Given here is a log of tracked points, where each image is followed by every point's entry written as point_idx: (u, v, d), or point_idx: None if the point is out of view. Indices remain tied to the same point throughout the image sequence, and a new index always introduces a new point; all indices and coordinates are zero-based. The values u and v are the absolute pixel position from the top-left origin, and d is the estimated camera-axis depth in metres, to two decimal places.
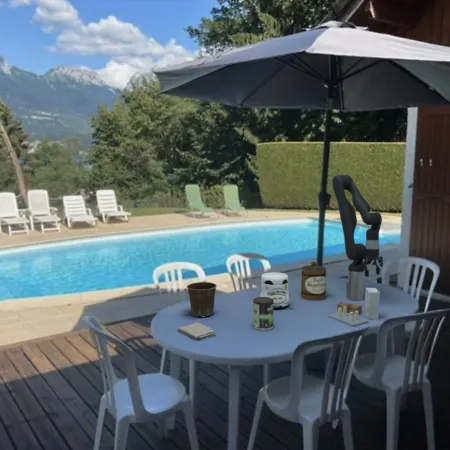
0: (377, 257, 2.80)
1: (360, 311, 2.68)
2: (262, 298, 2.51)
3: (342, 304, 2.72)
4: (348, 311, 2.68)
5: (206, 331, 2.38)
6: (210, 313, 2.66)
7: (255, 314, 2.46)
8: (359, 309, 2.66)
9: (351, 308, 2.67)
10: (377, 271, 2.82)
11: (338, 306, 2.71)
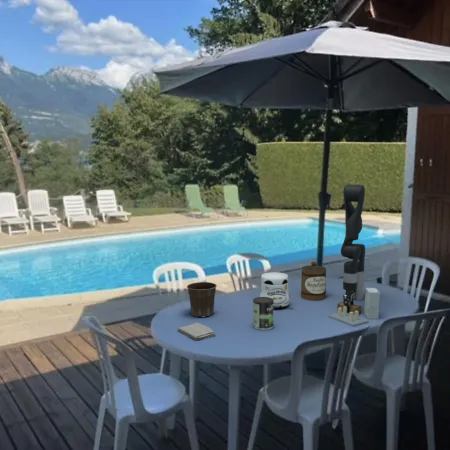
0: None
1: (360, 311, 2.67)
2: (262, 298, 2.51)
3: (342, 303, 2.72)
4: None
5: (206, 331, 2.38)
6: (210, 313, 2.66)
7: (255, 314, 2.46)
8: (358, 309, 2.66)
9: (350, 308, 2.67)
10: None
11: (338, 305, 2.72)
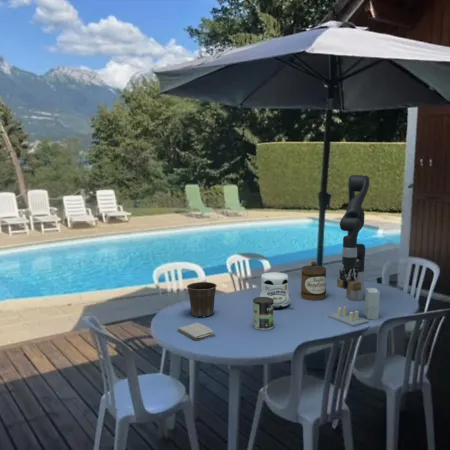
0: (344, 267, 2.58)
1: (358, 288, 2.55)
2: (262, 298, 2.51)
3: None
4: None
5: (206, 331, 2.38)
6: (210, 313, 2.66)
7: (255, 314, 2.46)
8: (356, 285, 2.54)
9: (348, 283, 2.57)
10: None
11: (338, 281, 2.63)
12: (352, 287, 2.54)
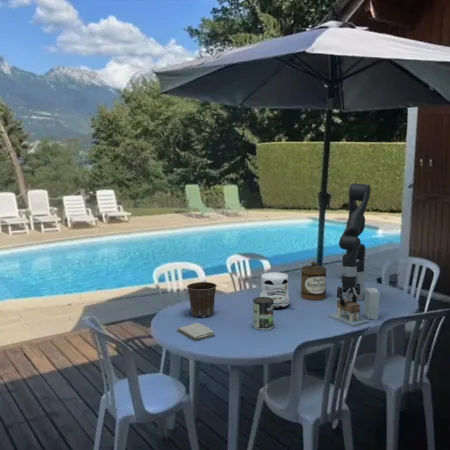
0: None
1: (357, 310, 2.52)
2: (262, 298, 2.51)
3: None
4: (344, 308, 2.56)
5: (205, 331, 2.38)
6: (210, 313, 2.66)
7: (255, 314, 2.46)
8: (354, 307, 2.51)
9: (347, 305, 2.54)
10: None
11: (338, 301, 2.61)
12: (350, 309, 2.51)
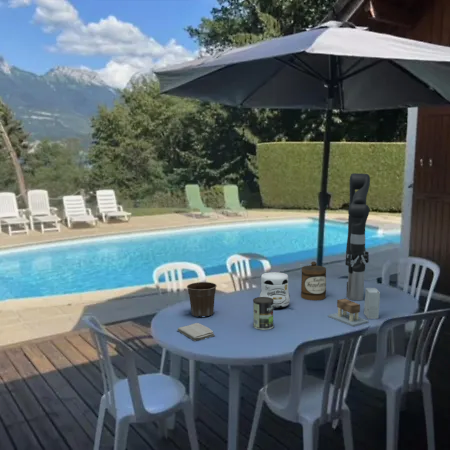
0: None
1: (357, 310, 2.52)
2: (262, 298, 2.51)
3: (342, 300, 2.60)
4: (344, 308, 2.56)
5: (205, 331, 2.38)
6: (210, 313, 2.66)
7: (255, 314, 2.46)
8: (354, 307, 2.51)
9: (347, 305, 2.54)
10: None
11: (338, 301, 2.61)
12: (350, 309, 2.51)
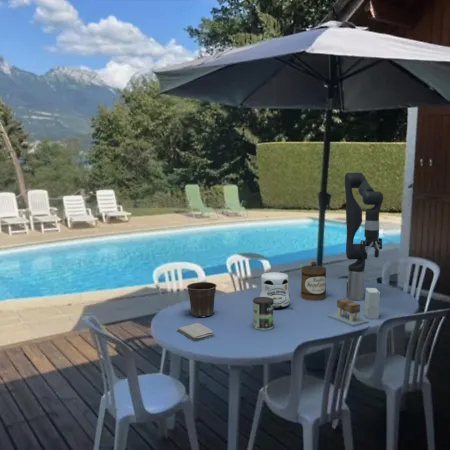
0: None
1: (357, 310, 2.52)
2: (262, 298, 2.51)
3: (342, 300, 2.60)
4: (344, 308, 2.56)
5: (205, 332, 2.38)
6: (210, 313, 2.66)
7: (255, 314, 2.46)
8: (354, 307, 2.51)
9: (347, 305, 2.54)
10: None
11: (338, 301, 2.61)
12: (350, 309, 2.51)
